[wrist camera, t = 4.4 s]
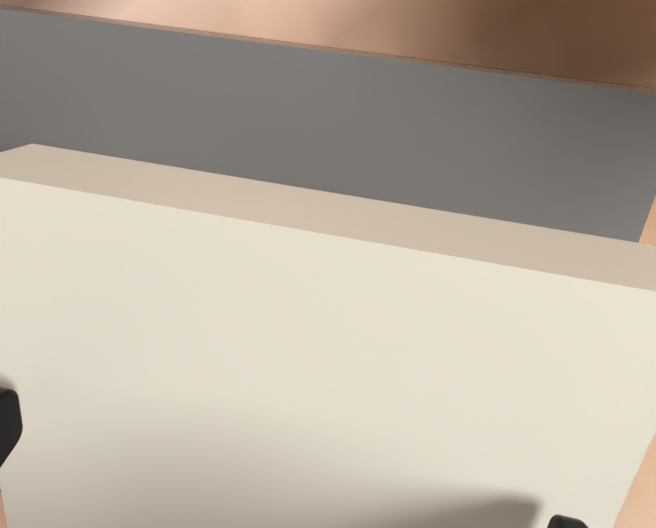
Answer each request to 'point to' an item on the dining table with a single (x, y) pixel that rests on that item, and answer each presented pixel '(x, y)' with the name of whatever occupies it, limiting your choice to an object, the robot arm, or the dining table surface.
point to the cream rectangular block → (309, 356)
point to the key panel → (334, 120)
